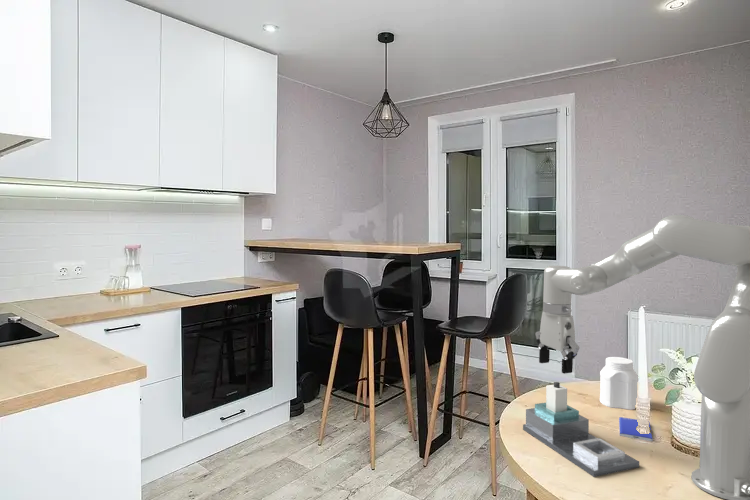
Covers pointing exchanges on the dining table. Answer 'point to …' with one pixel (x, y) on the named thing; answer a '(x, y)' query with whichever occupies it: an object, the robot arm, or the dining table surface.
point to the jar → (618, 383)
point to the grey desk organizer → (576, 440)
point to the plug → (556, 397)
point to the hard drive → (632, 429)
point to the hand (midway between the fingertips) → (555, 367)
